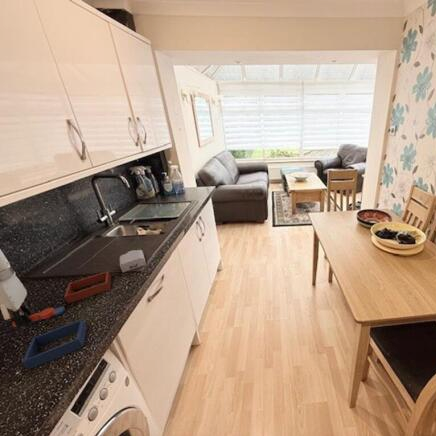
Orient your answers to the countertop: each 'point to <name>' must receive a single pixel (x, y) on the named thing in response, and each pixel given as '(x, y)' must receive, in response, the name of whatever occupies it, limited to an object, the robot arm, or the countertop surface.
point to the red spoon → (41, 315)
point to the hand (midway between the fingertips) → (26, 321)
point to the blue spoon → (57, 312)
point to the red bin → (72, 296)
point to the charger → (132, 260)
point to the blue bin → (36, 360)
